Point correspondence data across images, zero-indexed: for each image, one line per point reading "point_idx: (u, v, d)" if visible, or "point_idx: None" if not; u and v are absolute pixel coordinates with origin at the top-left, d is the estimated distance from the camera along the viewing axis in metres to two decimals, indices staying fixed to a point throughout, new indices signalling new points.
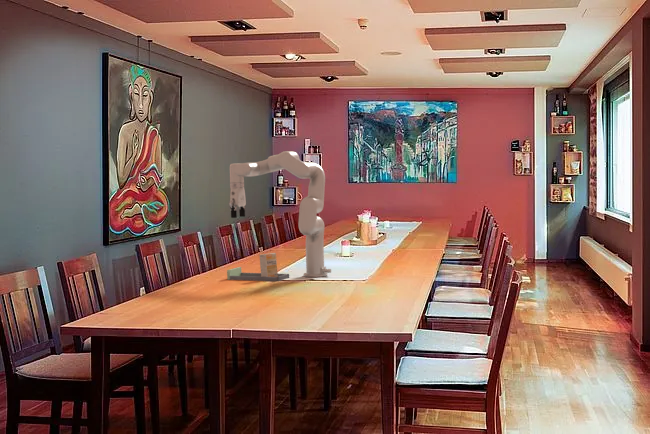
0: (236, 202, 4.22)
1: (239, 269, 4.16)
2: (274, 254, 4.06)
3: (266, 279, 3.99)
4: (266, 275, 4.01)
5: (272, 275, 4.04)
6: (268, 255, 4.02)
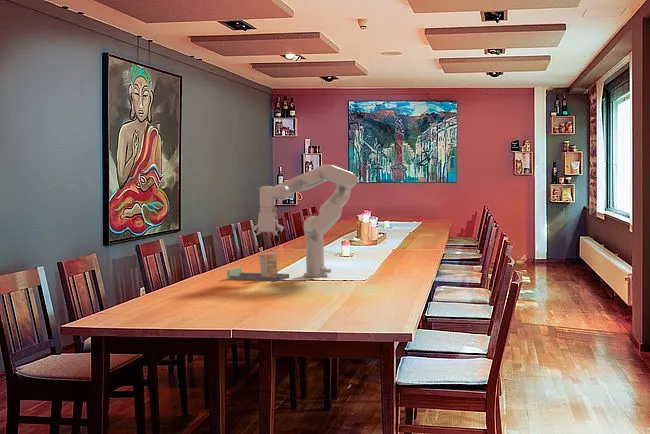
0: None
1: (239, 269, 4.16)
2: (274, 254, 4.06)
3: (266, 279, 3.99)
4: (266, 275, 4.01)
5: (272, 275, 4.04)
6: (268, 255, 4.02)
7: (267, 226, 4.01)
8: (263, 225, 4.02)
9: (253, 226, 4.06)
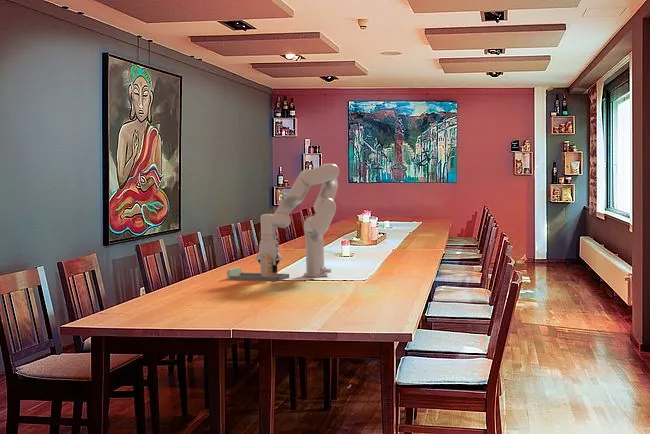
0: None
1: (239, 269, 4.16)
2: None
3: (266, 279, 3.99)
4: (266, 275, 4.01)
5: (272, 275, 4.04)
6: (268, 256, 4.01)
7: None
8: (264, 252, 4.03)
9: (256, 256, 4.07)
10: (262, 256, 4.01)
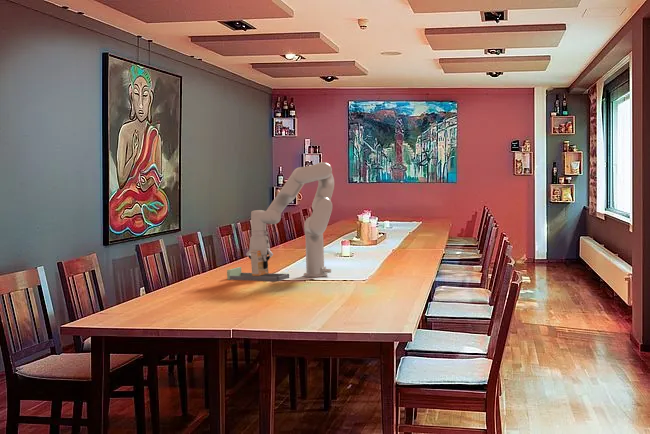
0: (269, 250, 4.06)
1: (239, 269, 4.16)
2: None
3: (266, 279, 3.99)
4: (257, 271, 4.03)
5: (263, 271, 4.05)
6: (259, 252, 4.03)
7: None
8: (254, 249, 4.05)
9: None
10: (253, 252, 4.03)
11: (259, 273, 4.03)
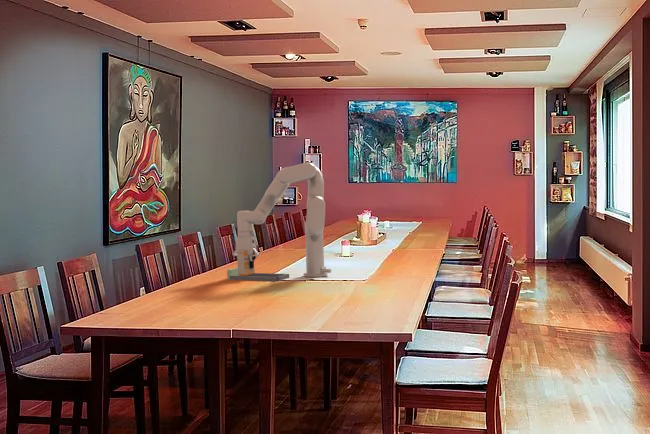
0: (255, 250, 4.09)
1: None
2: None
3: (266, 279, 3.99)
4: (243, 271, 4.06)
5: (249, 271, 4.09)
6: (245, 252, 4.06)
7: (245, 250, 4.07)
8: (240, 249, 4.08)
9: (233, 253, 4.12)
10: (239, 252, 4.06)
11: (245, 273, 4.06)
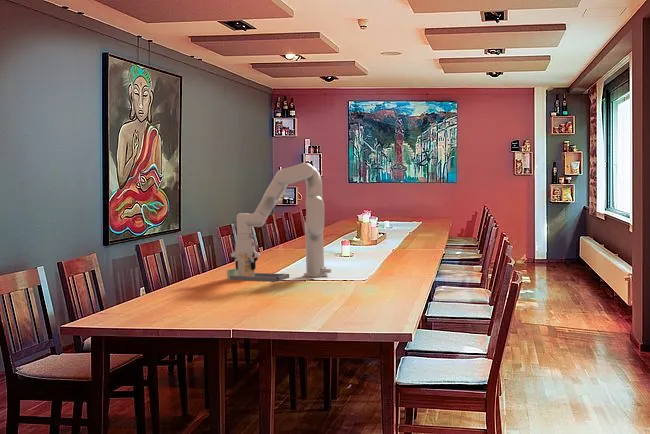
0: None
1: None
2: None
3: (266, 279, 3.99)
4: (243, 274, 4.06)
5: (249, 274, 4.09)
6: (246, 255, 4.07)
7: (244, 253, 4.07)
8: (240, 251, 4.08)
9: (231, 253, 4.12)
10: (240, 255, 4.07)
11: None
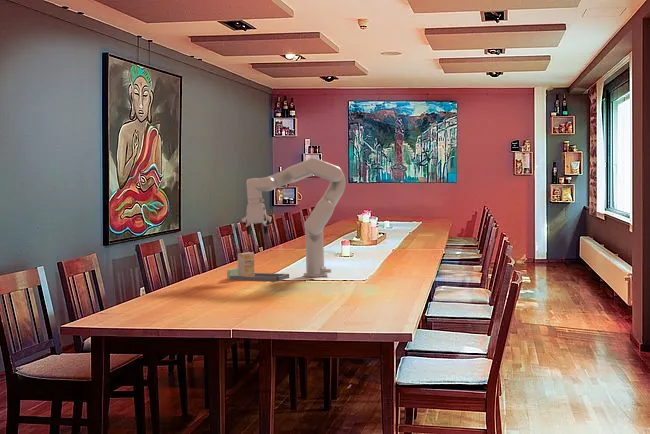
0: (266, 217, 4.11)
1: None
2: (252, 254, 4.11)
3: (266, 279, 3.99)
4: (243, 274, 4.06)
5: (249, 274, 4.09)
6: (246, 255, 4.07)
7: (256, 218, 4.09)
8: (251, 216, 4.09)
9: (242, 218, 4.14)
10: (240, 255, 4.07)
11: None
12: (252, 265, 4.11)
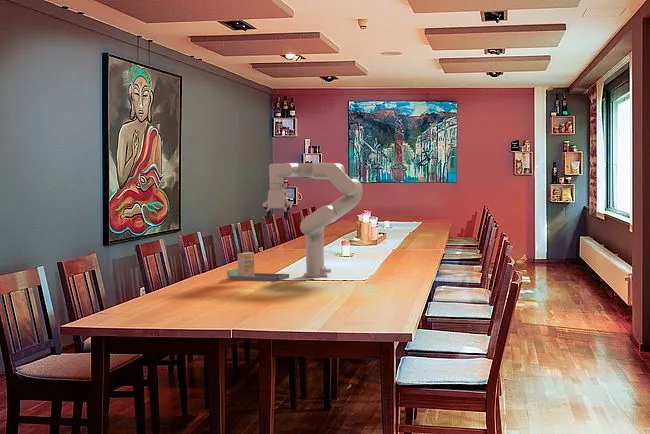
0: None
1: None
2: (252, 254, 4.11)
3: (266, 279, 3.99)
4: (243, 274, 4.06)
5: (249, 274, 4.09)
6: (246, 255, 4.07)
7: (277, 203, 4.14)
8: (272, 201, 4.14)
9: (263, 203, 4.19)
10: (240, 255, 4.07)
11: None
12: (252, 265, 4.11)
